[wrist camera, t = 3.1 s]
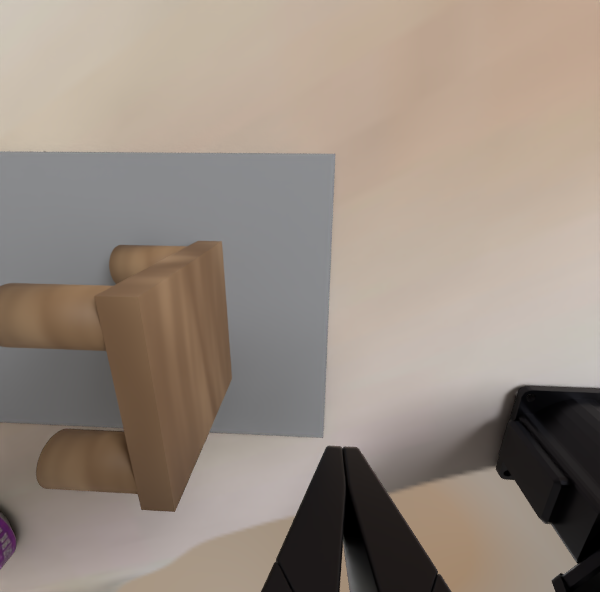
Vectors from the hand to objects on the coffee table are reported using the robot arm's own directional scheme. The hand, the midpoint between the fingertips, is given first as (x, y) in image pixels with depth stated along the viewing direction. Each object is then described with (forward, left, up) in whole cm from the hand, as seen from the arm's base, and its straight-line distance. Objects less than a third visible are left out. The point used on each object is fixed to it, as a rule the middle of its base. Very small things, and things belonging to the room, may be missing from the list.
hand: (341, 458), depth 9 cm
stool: (+8, 0, -9) cm, 12 cm away
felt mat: (+12, 0, -9) cm, 15 cm away
